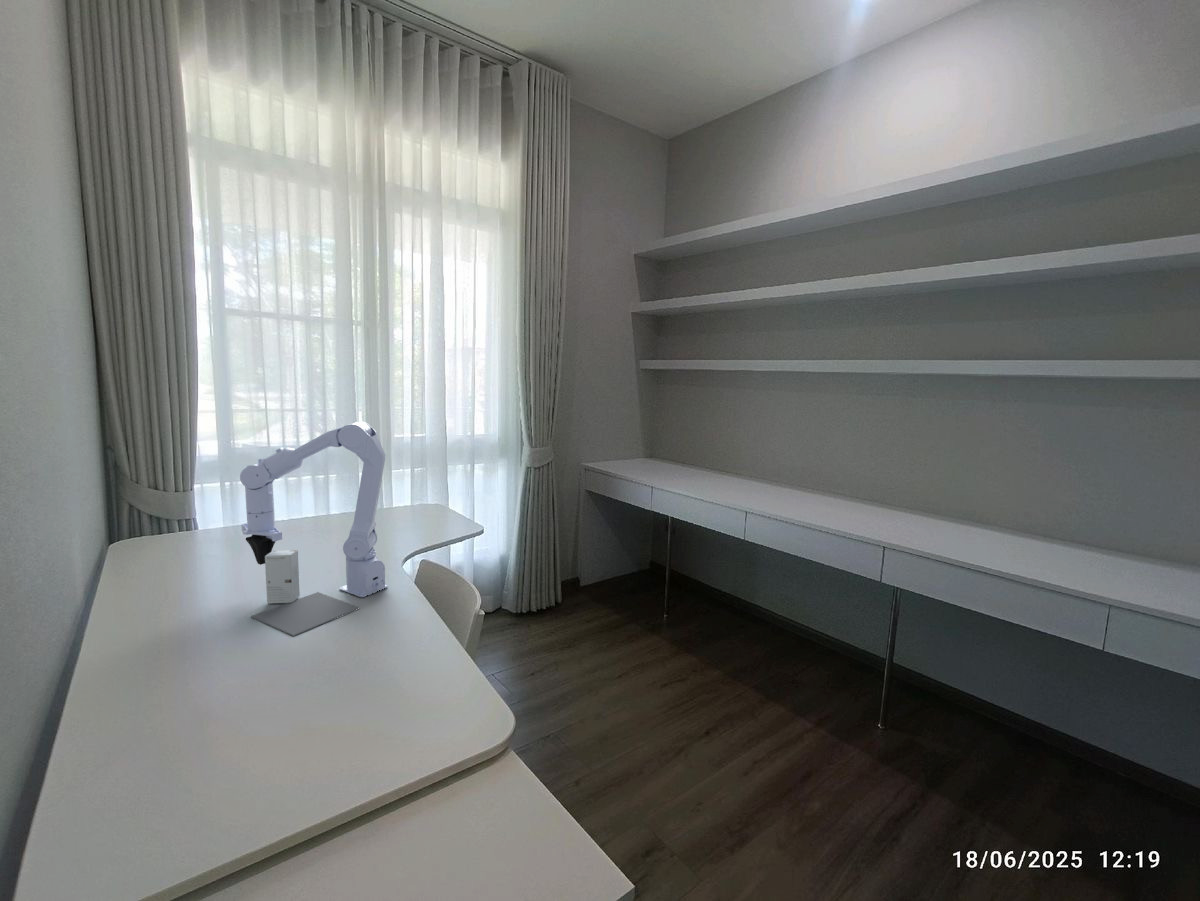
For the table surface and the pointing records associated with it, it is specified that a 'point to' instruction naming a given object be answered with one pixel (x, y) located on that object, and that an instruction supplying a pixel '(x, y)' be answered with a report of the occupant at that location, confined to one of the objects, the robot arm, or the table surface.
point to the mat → (304, 613)
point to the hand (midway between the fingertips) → (263, 563)
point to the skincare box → (282, 576)
